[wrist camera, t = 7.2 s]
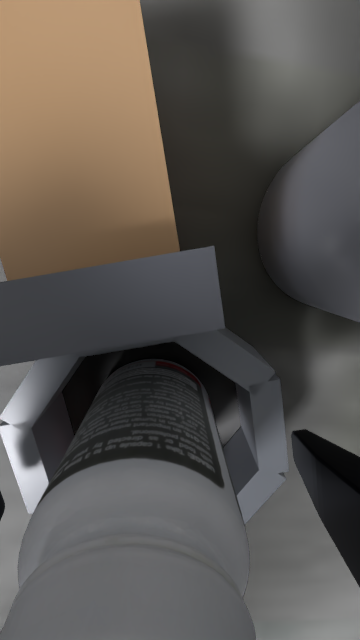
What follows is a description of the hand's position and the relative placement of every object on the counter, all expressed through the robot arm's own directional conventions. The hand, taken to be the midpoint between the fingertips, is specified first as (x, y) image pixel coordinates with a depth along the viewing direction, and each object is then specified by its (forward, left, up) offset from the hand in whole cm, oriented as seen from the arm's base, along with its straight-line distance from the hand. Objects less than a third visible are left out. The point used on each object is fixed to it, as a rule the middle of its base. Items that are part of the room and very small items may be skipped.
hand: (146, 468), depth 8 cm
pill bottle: (0, 0, -4) cm, 4 cm away
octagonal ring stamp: (+3, 0, -3) cm, 5 cm away
